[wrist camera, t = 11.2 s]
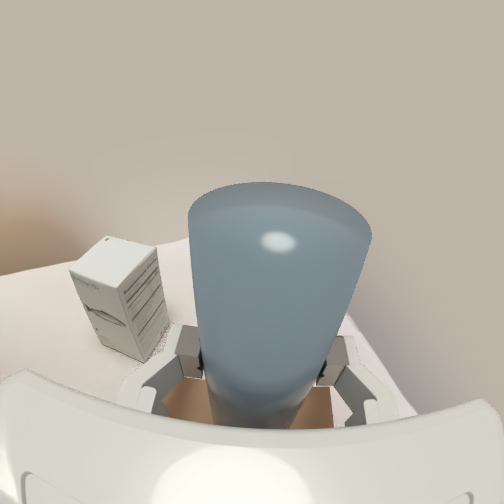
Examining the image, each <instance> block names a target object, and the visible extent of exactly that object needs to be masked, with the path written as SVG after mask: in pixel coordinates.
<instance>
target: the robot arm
mask: <svg viewBox="0 0 504 504" xmlns="http://www.w3.org/2000/svg"><path fill="white" fill-rule="evenodd" d="M203 371H204V366H203V360H202V353H201V346H200V339H199V331H198V327H194V326H187V325H181V324H174V323H173V324H172V325H171V327H170V330H169V333H168V336H167V339H166V342H165V345H164V348H163V352H158V353H157V354H156V355H154V356H153V357H152V358H151V359H149V360H148V361H147V362H145V363H144V364H143V365H142V366H140V367H139V368H138V369H137V370H135V371H134V372H133V373H131V374H130V375H129V376H127V377H126V378H125V379H124V380H123V382H122V385H121V387H120V390H119V393H118V396H117V399H116V401H115V403H111V402H108V401H105V400H102V399H99V398H96V397H93V396H90V395H87V394H85V393H82V392H79V391H77V390H74V389H72V388H69V387H67V386H64V385H62V384H60V383H57V382H55V381H53V380H50V379H48V378H46V377H44V376H42V375H40V374H38V373H36V372H34V371H32V370H29V369H23V370H20V371H18V372H16V373H14V374H13V375H11V376H9V377H8V378H6V379H5V380H4V381H2V383H1V384H0V504H504V432H503V427H502V423H501V419H500V416H499V414H498V412H497V410H496V409H495V408H494V407H493V406H492V405H490V404H489V403H488V402H487V401H486V400H484V399H483V398H475V399H472V400H469V401H467V402H464V403H461V404H458V405H454V406H451V407H448V408H444V409H441V410H437V411H433V412H429V413H425V414H421V415H417V416H412V417H408V418H403V419H399V414H398V409H397V405H396V401H395V397H394V395H393V394H392V393H391V392H390V391H389V390H388V389H387V388H386V387H385V386H384V385H383V384H382V383H381V382H380V381H379V380H378V379H377V378H376V377H375V376H374V375H373V374H372V373H371V372H370V371H369V370H368V369H367V368H366V367H365V366H364V365H361V364H360V360H359V355H358V351H357V347H356V343H355V339H354V337H353V336H336V337H335V340H334V342H333V344H332V346H331V349H330V351H329V353H328V355H327V357H326V360H325V362H324V364H323V366H322V368H321V370H320V372H319V374H318V376H317V378H316V386H334V388H335V389H336V390H337V392H338V393H339V395H340V396H341V397H342V399H343V400H344V401H345V403H346V404H347V405H348V407H349V408H350V409H351V411H352V412H353V414H352V415H351V416H350V417H349V418H348V419H347V420H346V422H345V427H338V428H323V429H257V428H242V427H231V426H221V425H213V424H206V423H199V422H192V421H186V420H181V419H175V418H170V417H167V414H168V412H167V410H166V408H165V406H164V404H163V402H162V401H161V400H162V399H163V398H164V397H165V396H166V395H167V394H168V393H169V392H170V391H171V390H172V389H173V388H174V387H175V386H176V385H177V384H178V383H179V382H180V381H181V380H182V379H183V378H184V377H192V378H201V379H202V376H203Z"/></svg>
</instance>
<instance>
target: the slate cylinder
mask: <svg viewBox="0 0 504 504" xmlns="http://www.w3.org/2000/svg"><path fill="white" fill-rule="evenodd" d="M188 228H189V243H190V256H191V267H192V278H193V288H194V297H195V306H196V315H197V323H198V331H199V339H200V346H201V353H202V360H203V366H204V373H205V379H206V385H207V391H208V397H209V402H210V408H211V413H212V419H213V424H214V425H221V426H231V427H242V428H257V429H290V427H291V425H292V424H293V422H294V420H295V418H296V417H297V415H298V413H299V411H300V409H301V408H302V406H303V404H304V402H305V400H306V398H307V396H308V394H309V392H310V390H311V388H312V386H313V384H314V382H315V380H316V378H317V376H318V374H319V372H320V370H321V368H322V366H323V364H324V362H325V360H326V357H327V355H328V353H329V351H330V349H331V346H332V344H333V342H334V340H335V337H336V335H337V333H338V330H339V328H340V326H341V323H342V321H343V318H344V316H345V313H346V311H347V308H348V306H349V303H350V300H351V298H352V295H353V292H354V290H355V287H356V284H357V282H358V279H359V276H360V273H361V270H362V267H363V264H364V261H365V258H366V255H367V252H368V249H369V245H370V242H371V239H372V233H371V229H370V226H369V224H368V222H367V221H366V220H365V218H364V217H363V216H362V215H361V214H360V213H359V212H358V211H357V210H356V209H354V208H353V207H351V206H350V205H348V204H347V203H345V202H343V201H341V200H340V199H337V198H336V197H333V196H331V195H328V194H326V193H323V192H320V191H317V190H314V189H310V188H306V187H302V186H297V185H291V184H284V183H272V182H251V183H241V184H234V185H230V186H225V187H222V188H218V189H215V190H213V191H210V192H208V193H206V194H204V195H203V196H201V197H200V198H198V199H197V200H196V201H195V202H194V203H193V204H192V206H191V207H190V210H189V213H188Z"/></svg>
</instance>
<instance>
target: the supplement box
mask: <svg viewBox="0 0 504 504" xmlns="http://www.w3.org/2000/svg"><path fill="white" fill-rule="evenodd" d="M69 272H70V275H71V277H72V280H73V282H74V285H75V287H76V290H77V292H78V295H79V297H80V300H81V302H82V304H83V306H84V309H85V311H86V313H87V315H88V317H89V320H90V322H91V324H92V326H93V328H94V330H95V332H96V334H97V336H98V338H99V340H100V342H101V343H102V344H103V345H106V346H108V347H110V348H113V349H115V350H117V351H119V352H121V353H123V354H126V355H128V356H130V357H132V358H134V359H136V360H138V361H140V362H142V363H145V362H146V361H147V360H148V358H149V357H150V355H151V353H152V352H153V350H154V348H155V347H156V345H157V344H158V342H159V340H160V339H161V337H162V336H163V334H164V332H165V331H166V329H167V328H168V326H169V319H168V314H167V308H166V304H165V298H164V293H163V287H162V282H161V276H160V270H159V264H158V257H157V248H156V247H154V246H150V245H146V244H142V243H137V242H133V241H129V240H125V239H120V238H116V237H112V236H109V235H107V236H106V237H104V238H103V239H102V240H100V241H99V242H98V243H97V244H96V245H94V246H93V247H92V248H91V249H90V250H89V251H88V252H86V253H85V254H84V255H83V256H82V257H81V258H80V259H79V260H77V261H76V262H75V263H74V264H73V265H72V266H71V267H70V268H69Z"/></svg>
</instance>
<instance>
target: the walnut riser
mask: <svg viewBox="0 0 504 504" xmlns="http://www.w3.org/2000/svg"><path fill="white" fill-rule="evenodd" d="M161 401H162V402H163V404H164V406H165V408H166V410H167V412H168V414H167V417H170V418H175V419H181V420H186V421H192V422H199V423H206V424H213V419H212V413H211V408H210V402H209V397H208V391H207V385H206V380H201V379H194V378H187V377H184V378H183V379H182V380H181V381H180V382H179V383H178V384H177V385H176V386H175V387H174V388H173V389H172V390H171V391H170V392H169V393H168V394H167V395H166V396H165V397H164V398H163V399H162V400H161ZM213 425H214V424H213ZM323 428H334V424H333V414H332V405H331V396H330V387H312V388H311V390H310V392H309V394H308V396H307V398H306V400H305V402H304V404H303V406H302V408H301V409H300V411H299V413H298V415H297V417H296V418H295V420H294V422H293V424H292V425H291V427H290V429H323Z"/></svg>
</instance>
